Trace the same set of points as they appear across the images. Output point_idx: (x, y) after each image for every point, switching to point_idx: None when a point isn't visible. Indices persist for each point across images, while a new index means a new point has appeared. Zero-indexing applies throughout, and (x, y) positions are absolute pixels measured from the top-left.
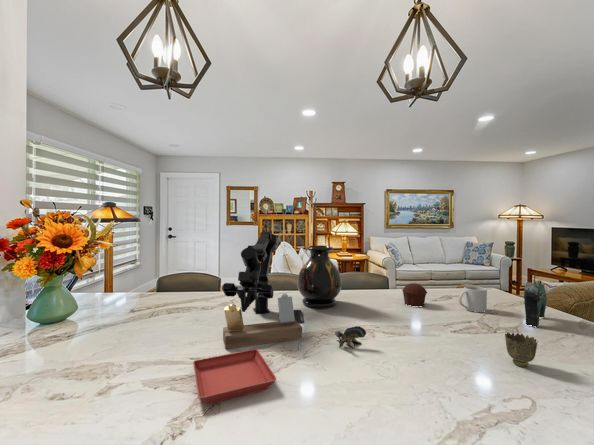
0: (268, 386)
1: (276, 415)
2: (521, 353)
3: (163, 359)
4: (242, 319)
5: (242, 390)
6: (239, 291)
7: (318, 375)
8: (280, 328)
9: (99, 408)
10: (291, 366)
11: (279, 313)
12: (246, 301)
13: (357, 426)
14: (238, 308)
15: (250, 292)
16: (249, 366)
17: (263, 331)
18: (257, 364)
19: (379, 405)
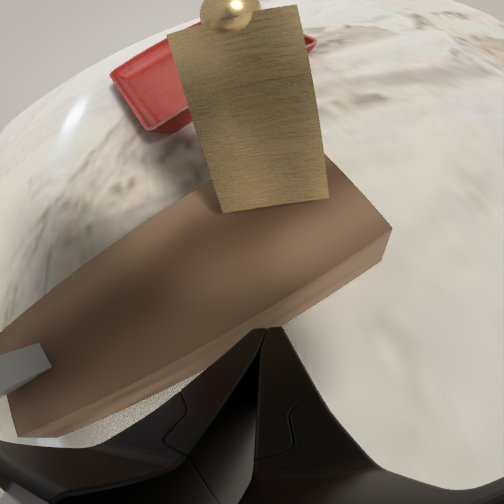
0: (128, 75)
1: (125, 61)
2: None
3: (447, 85)
4: (201, 143)
5: (168, 44)
6: (417, 500)
7: (46, 156)
8: (54, 303)
9: (379, 3)
10: (80, 160)
11: (15, 374)
12: (204, 393)
13: (51, 97)
14: (182, 30)
15: (38, 457)
16: (173, 105)
17: (120, 242)
18: (152, 114)
19: (17, 136)
